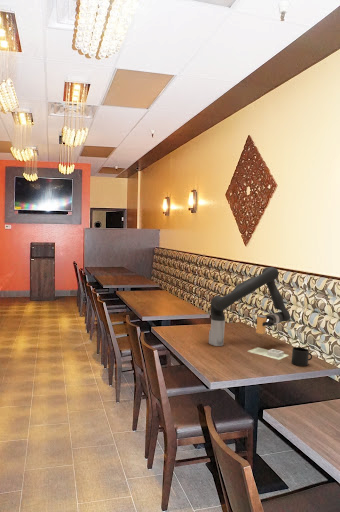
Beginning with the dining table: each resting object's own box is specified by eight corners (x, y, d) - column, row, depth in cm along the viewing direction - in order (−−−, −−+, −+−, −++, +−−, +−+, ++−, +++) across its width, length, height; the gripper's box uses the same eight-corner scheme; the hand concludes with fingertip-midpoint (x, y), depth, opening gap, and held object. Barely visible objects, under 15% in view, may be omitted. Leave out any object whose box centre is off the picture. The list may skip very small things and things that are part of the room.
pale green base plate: (247, 353, 270) (247, 347, 270) (257, 349, 281) (258, 343, 280) (278, 362, 256) (279, 355, 256) (288, 357, 267) (289, 351, 266)
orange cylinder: (256, 332, 271) (257, 315, 270) (259, 331, 274) (260, 315, 274) (262, 334, 268) (263, 317, 268) (265, 333, 271) (266, 316, 271)
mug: (314, 367, 250) (315, 352, 250) (294, 366, 250) (295, 351, 249) (308, 361, 260) (309, 347, 259) (289, 361, 259) (290, 346, 259)
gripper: (262, 312, 286) (249, 315, 273) (281, 316, 277) (270, 319, 264) (261, 323, 287) (249, 327, 274) (281, 327, 278) (269, 331, 264)
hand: (259, 323), depth 269 cm, fingers closed on orange cylinder, 4 cm apart
